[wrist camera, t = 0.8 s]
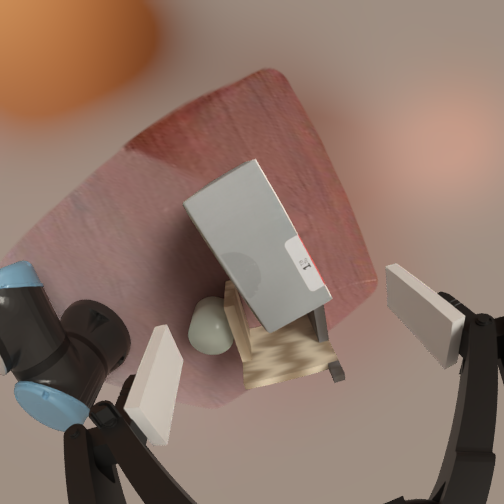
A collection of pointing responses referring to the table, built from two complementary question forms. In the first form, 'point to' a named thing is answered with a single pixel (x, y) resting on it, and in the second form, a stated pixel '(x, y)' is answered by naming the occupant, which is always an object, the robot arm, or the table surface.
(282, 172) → the table surface
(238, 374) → the table surface
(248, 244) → the hard drive box
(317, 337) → the shelf bay
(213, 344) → the pale green rounded part
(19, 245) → the table surface
